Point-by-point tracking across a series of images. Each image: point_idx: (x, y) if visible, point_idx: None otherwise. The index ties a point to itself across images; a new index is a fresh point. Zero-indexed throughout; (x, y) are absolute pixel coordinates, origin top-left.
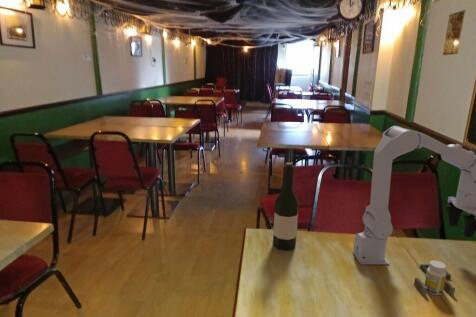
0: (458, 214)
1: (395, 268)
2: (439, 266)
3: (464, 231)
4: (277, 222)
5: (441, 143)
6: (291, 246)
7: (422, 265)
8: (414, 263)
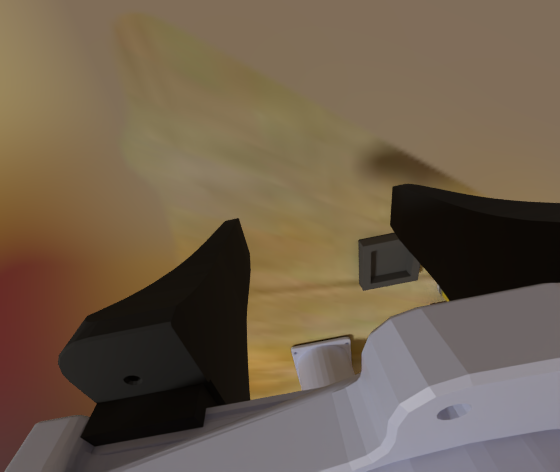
0: (222, 280)
1: (362, 326)
2: None
3: (409, 249)
4: None
5: None
6: None
7: (368, 287)
8: (337, 289)
